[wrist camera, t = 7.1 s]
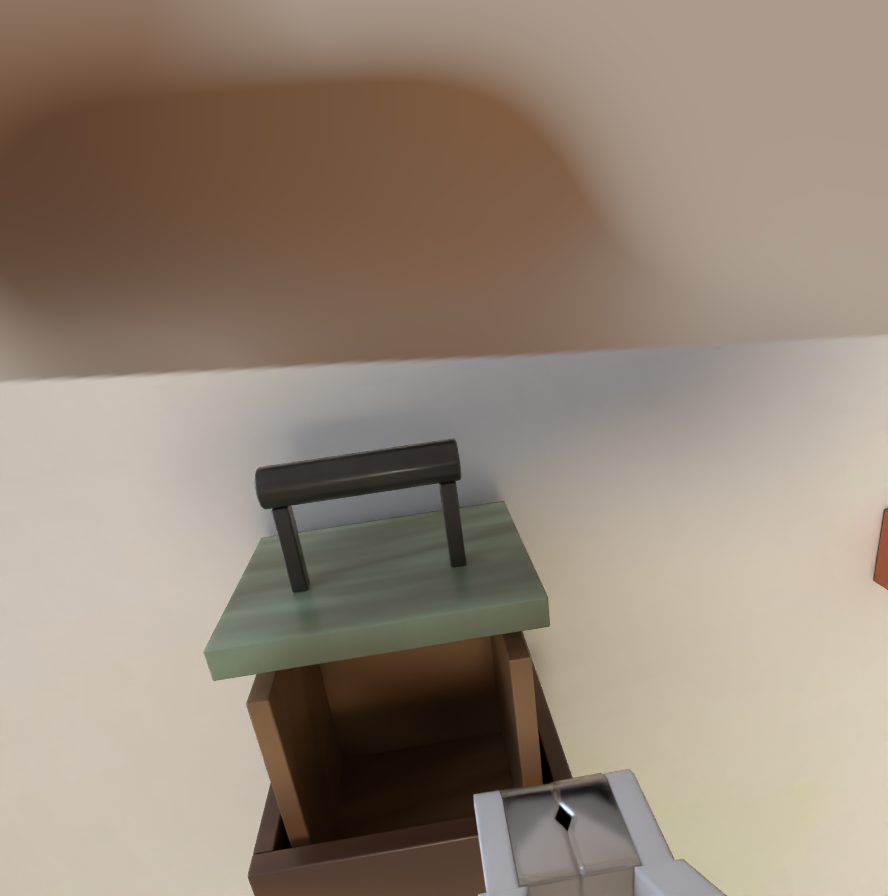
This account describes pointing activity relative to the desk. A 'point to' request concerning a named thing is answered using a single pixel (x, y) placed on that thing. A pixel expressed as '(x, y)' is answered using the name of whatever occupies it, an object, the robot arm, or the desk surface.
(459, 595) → the drawer
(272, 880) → the cabinet
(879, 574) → the block
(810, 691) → the desk surface
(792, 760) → the desk surface
